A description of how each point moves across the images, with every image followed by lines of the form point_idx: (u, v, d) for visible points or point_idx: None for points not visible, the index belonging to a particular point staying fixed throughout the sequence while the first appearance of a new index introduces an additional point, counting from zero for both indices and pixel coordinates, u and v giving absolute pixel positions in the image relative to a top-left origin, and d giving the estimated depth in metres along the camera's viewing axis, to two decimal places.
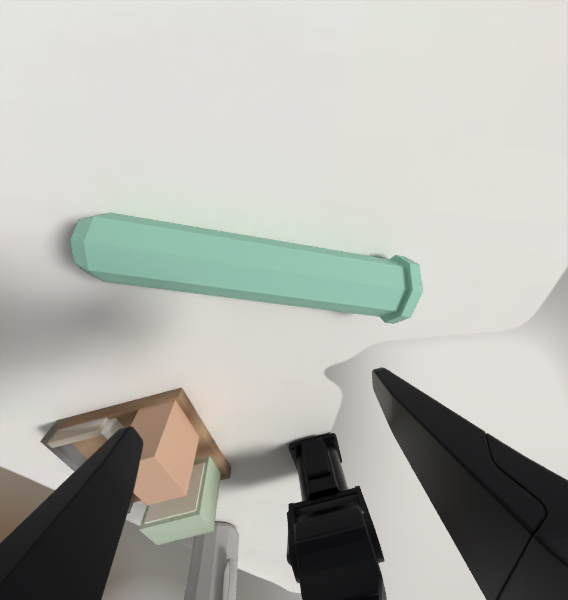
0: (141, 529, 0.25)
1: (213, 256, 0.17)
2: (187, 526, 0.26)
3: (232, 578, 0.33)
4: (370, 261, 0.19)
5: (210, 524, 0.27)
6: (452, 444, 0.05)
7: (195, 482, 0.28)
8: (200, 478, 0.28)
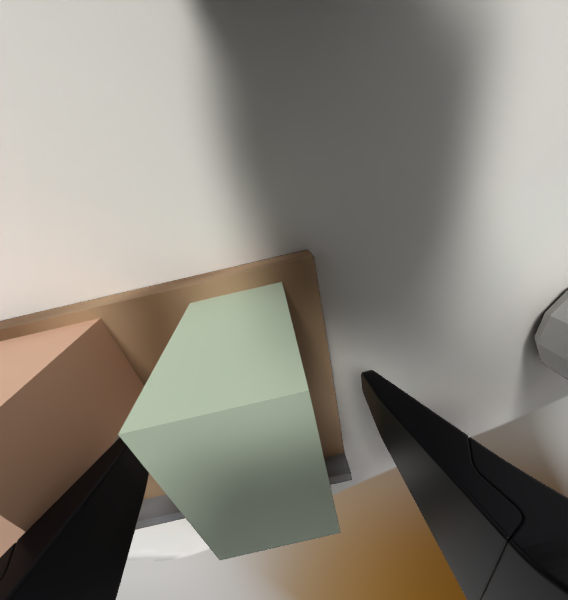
0: (221, 556, 0.08)
1: None
2: (232, 471, 0.06)
3: None
4: None
5: (258, 393, 0.05)
6: (434, 448, 0.05)
7: None
8: None
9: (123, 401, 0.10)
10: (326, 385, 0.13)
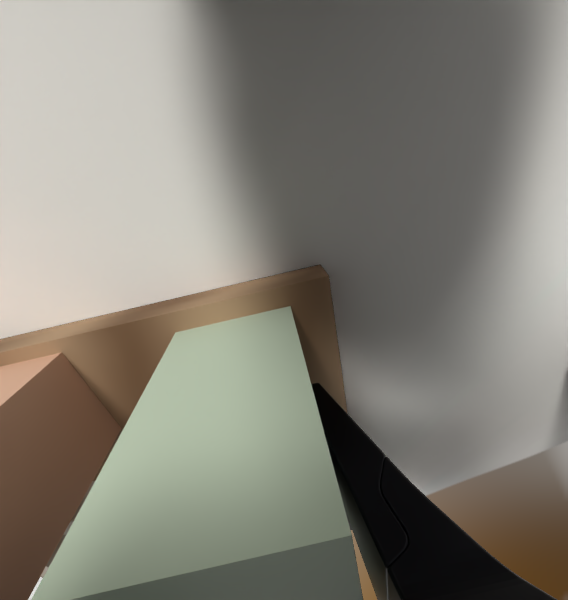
0: None
1: None
2: None
3: None
4: None
5: (265, 530, 0.03)
6: (350, 468, 0.05)
7: None
8: None
9: (91, 455, 0.08)
10: None
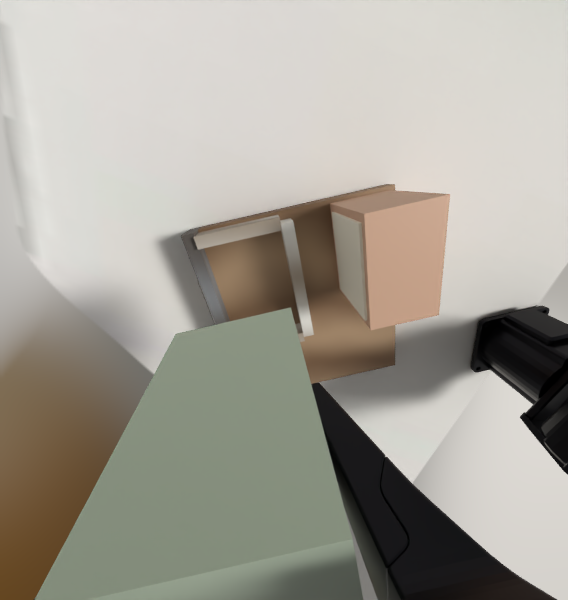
0: None
1: None
2: None
3: None
4: None
5: (266, 534, 0.03)
6: (350, 468, 0.05)
7: None
8: None
9: None
10: (320, 378, 0.23)
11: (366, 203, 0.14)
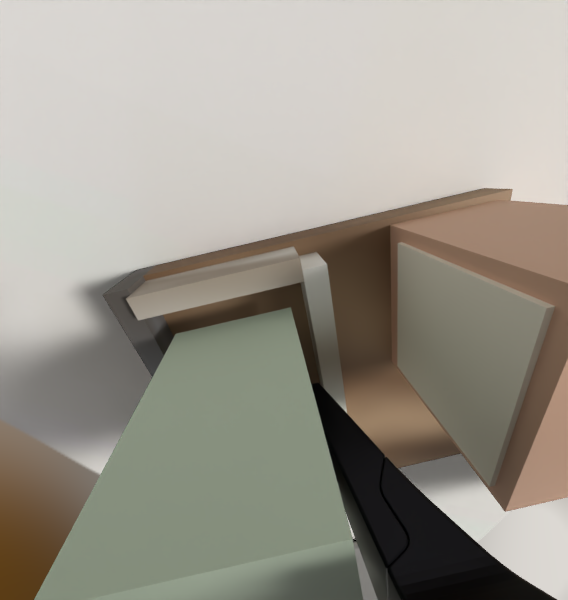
0: None
1: None
2: None
3: None
4: None
5: (266, 533, 0.03)
6: (350, 468, 0.05)
7: None
8: None
9: None
10: None
11: (505, 235, 0.06)
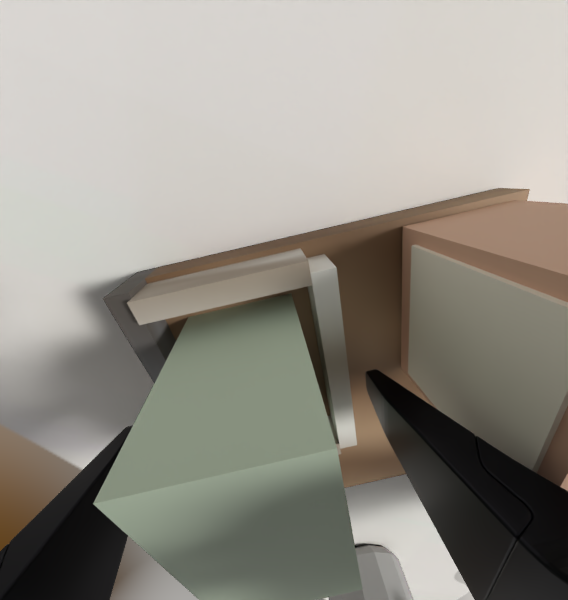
0: None
1: None
2: (237, 535, 0.05)
3: None
4: None
5: (272, 448, 0.04)
6: (441, 447, 0.05)
7: None
8: None
9: None
10: (356, 481, 0.15)
11: (533, 238, 0.06)
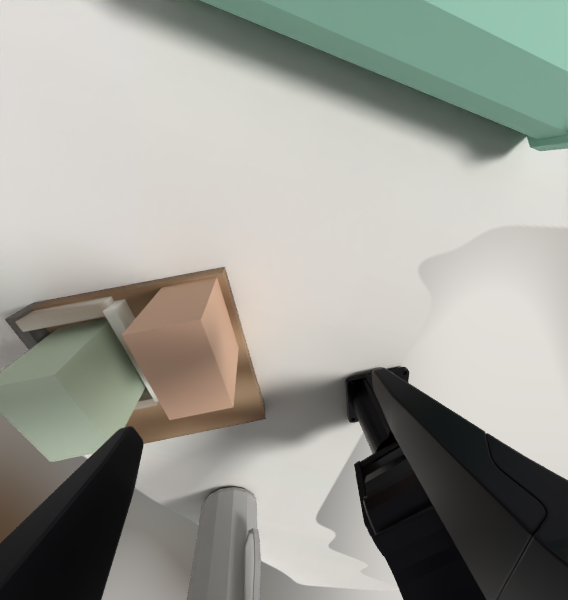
0: (50, 459, 0.16)
1: None
2: (35, 409, 0.14)
3: (258, 553, 0.25)
4: None
5: (37, 375, 0.13)
6: (452, 444, 0.05)
7: None
8: None
9: None
10: (193, 430, 0.24)
11: (163, 305, 0.15)
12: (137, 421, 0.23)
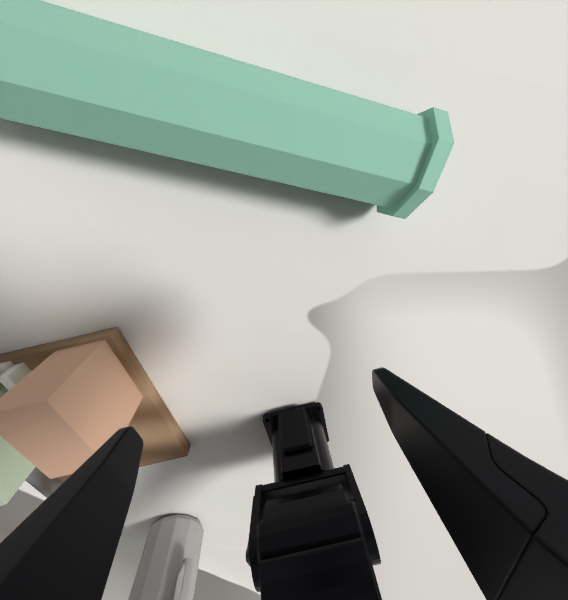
0: None
1: (118, 49, 0.10)
2: None
3: (186, 583, 0.26)
4: (374, 103, 0.13)
5: None
6: (452, 444, 0.05)
7: None
8: None
9: None
10: None
11: (36, 377, 0.16)
12: None
